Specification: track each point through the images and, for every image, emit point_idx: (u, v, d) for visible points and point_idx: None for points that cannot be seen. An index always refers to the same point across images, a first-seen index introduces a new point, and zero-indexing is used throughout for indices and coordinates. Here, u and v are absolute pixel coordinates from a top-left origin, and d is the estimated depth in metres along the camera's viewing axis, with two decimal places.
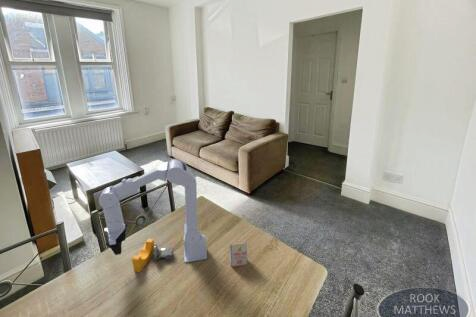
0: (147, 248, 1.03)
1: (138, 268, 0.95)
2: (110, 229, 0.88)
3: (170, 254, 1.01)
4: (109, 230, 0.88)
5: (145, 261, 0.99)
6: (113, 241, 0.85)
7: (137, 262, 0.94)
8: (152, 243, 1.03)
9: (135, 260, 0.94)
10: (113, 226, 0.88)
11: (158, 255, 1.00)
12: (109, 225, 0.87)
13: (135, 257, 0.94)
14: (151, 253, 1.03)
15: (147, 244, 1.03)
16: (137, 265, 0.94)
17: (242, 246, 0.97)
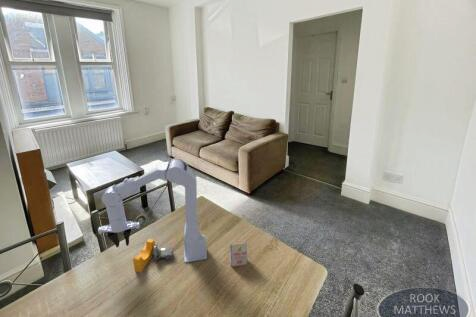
0: (147, 248, 1.03)
1: (139, 268, 0.95)
2: None
3: (170, 254, 1.01)
4: None
5: (146, 261, 0.99)
6: None
7: (138, 262, 0.94)
8: (153, 243, 1.03)
9: (136, 261, 0.94)
10: None
11: (158, 255, 1.00)
12: None
13: (136, 257, 0.94)
14: (152, 253, 1.03)
15: (148, 244, 1.03)
16: (138, 265, 0.94)
17: (242, 246, 0.97)
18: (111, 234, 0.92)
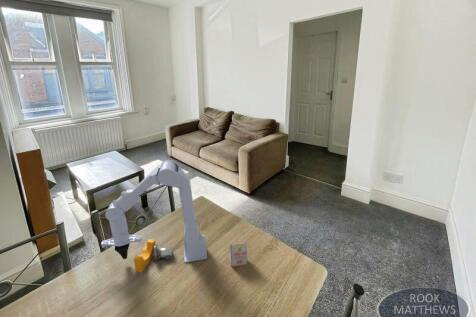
0: (148, 249, 1.03)
1: (140, 268, 0.95)
2: None
3: (170, 254, 1.01)
4: None
5: (146, 262, 0.99)
6: None
7: (139, 263, 0.94)
8: (153, 243, 1.03)
9: (137, 261, 0.94)
10: None
11: (158, 255, 1.00)
12: None
13: (137, 257, 0.94)
14: (152, 253, 1.03)
15: (148, 244, 1.03)
16: (139, 265, 0.94)
17: (243, 246, 0.97)
18: (118, 247, 0.95)
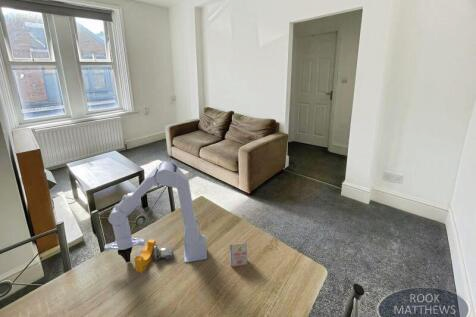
0: (148, 249, 1.03)
1: (140, 269, 0.95)
2: None
3: (170, 254, 1.01)
4: None
5: (147, 262, 0.99)
6: None
7: (139, 263, 0.94)
8: (154, 243, 1.03)
9: (137, 261, 0.94)
10: None
11: (158, 255, 1.00)
12: None
13: (137, 258, 0.94)
14: (153, 253, 1.03)
15: (149, 244, 1.03)
16: (139, 266, 0.94)
17: (243, 246, 0.97)
18: (121, 250, 0.95)
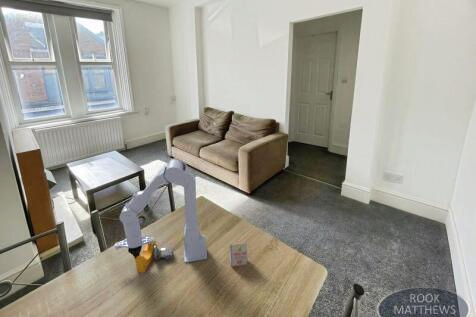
0: (149, 249, 1.03)
1: (142, 269, 0.95)
2: None
3: (170, 254, 1.01)
4: None
5: (148, 262, 0.99)
6: None
7: (140, 263, 0.94)
8: (154, 243, 1.03)
9: (138, 261, 0.93)
10: None
11: (158, 255, 1.00)
12: None
13: (138, 258, 0.94)
14: (153, 253, 1.03)
15: (149, 244, 1.03)
16: (141, 266, 0.94)
17: (242, 246, 0.97)
18: (131, 249, 0.96)
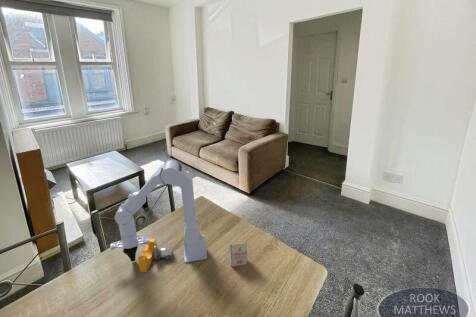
0: (150, 248, 1.03)
1: (145, 268, 0.95)
2: None
3: (170, 254, 1.01)
4: None
5: (150, 261, 0.99)
6: None
7: (143, 262, 0.94)
8: (154, 243, 1.04)
9: (141, 261, 0.94)
10: None
11: (158, 255, 1.00)
12: None
13: (141, 257, 0.94)
14: None
15: (149, 244, 1.03)
16: (144, 265, 0.94)
17: (243, 246, 0.97)
18: (127, 249, 0.96)
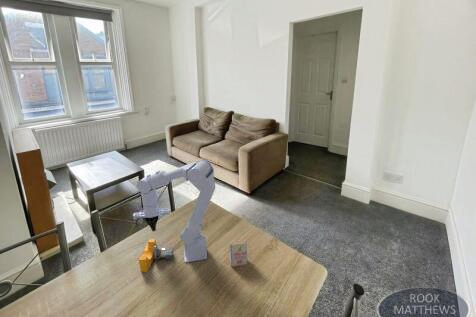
0: (150, 248, 1.03)
1: (145, 268, 0.95)
2: None
3: (170, 254, 1.01)
4: None
5: (150, 261, 0.99)
6: None
7: (144, 263, 0.94)
8: (154, 243, 1.04)
9: (142, 261, 0.94)
10: (143, 207, 1.00)
11: (158, 255, 1.00)
12: None
13: (142, 258, 0.94)
14: None
15: (149, 244, 1.03)
16: (144, 265, 0.94)
17: (242, 246, 0.97)
18: (148, 219, 1.01)
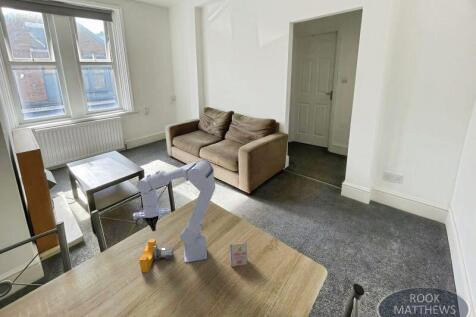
0: (150, 249, 1.03)
1: (146, 268, 0.95)
2: None
3: (170, 254, 1.01)
4: None
5: (150, 261, 0.99)
6: None
7: (145, 263, 0.94)
8: (154, 243, 1.04)
9: (143, 261, 0.93)
10: (143, 207, 1.00)
11: (158, 255, 1.00)
12: None
13: (142, 258, 0.94)
14: None
15: (149, 244, 1.03)
16: (145, 265, 0.94)
17: (243, 246, 0.97)
18: (148, 219, 1.01)
